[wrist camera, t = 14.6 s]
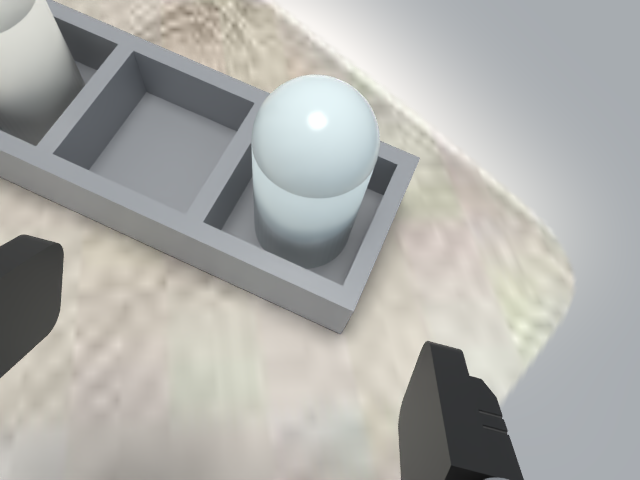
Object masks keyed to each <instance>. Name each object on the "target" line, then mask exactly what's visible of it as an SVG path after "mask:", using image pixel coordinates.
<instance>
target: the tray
mask: <svg viewBox="0 0 640 480" xmlns="http://www.w3.org/2000/svg"><path fill="white" fill-rule="evenodd" d="M46 2H47V4H48V6H49V8H50V10H51V12H52V15H53V17H54V19H55V21H56V23H57V25H58V27H59V29H60V31H61V34H62V36H63V38H64V40H65V42H66V44H67V46H68V48H69V50H70V52H71V55H72V57H73V59H74V61H75V63H76V65H77V67H78V69H79V71H80V74H81V76H82V78H83V80H84V82H85V84H86V85H85V86H84V87H83V89H82V90H81V91H80V92H79V94H78V95H77V96H76V97H75V99H74V100H73V101H72V102H71V104H70V105H69V106H68V107H67V109H66V110H65V111H64V112H63V113H62V115H61V116H60V117H59V118H58V120H57V121H56V122H55V123H54V125H53V126H52V127H51V128H50V130H49V131H48V132H47V133H46V135H45V136H44V137H43V138H42V140H41V141H40V142H39V143H38V145H37V146H34V145H32V144H30V143H27V142H25V141H23V140H21V139H19V138H16V137H14V136H12V135H10V134H8V133H5V132H3V131H1V130H0V177H1V178H4V179H6V180H8V181H10V182H12V183H14V184H16V185H19V186H21V187H23V188H25V189H27V190H29V191H32V192H34V193H36V194H38V195H40V196H42V197H45V198H47V199H49V200H51V201H53V202H55V203H58V204H60V205H62V206H64V207H66V208H68V209H71V210H73V211H75V212H77V213H79V214H81V215H84V216H86V217H88V218H90V219H92V220H94V221H97V222H99V223H101V224H103V225H105V226H107V227H110V228H112V229H114V230H116V231H118V232H120V233H122V234H125V235H127V236H129V237H131V238H133V239H135V240H138V241H140V242H142V243H144V244H146V245H148V246H151V247H153V248H155V249H157V250H159V251H161V252H164V253H166V254H168V255H170V256H172V257H174V258H177V259H179V260H181V261H183V262H185V263H187V264H190V265H192V266H194V267H196V268H198V269H200V270H203V271H205V272H207V273H209V274H211V275H213V276H216V277H218V278H220V279H222V280H224V281H226V282H228V283H231V284H233V285H235V286H237V287H239V288H241V289H244V290H246V291H248V292H250V293H252V294H254V295H257V296H259V297H261V298H263V299H265V300H267V301H270V302H272V303H274V304H276V305H278V306H280V307H283V308H285V309H287V310H289V311H291V312H293V313H296V314H298V315H300V316H302V317H304V318H306V319H309V320H311V321H313V322H315V323H317V324H319V325H322V326H324V327H326V328H328V329H330V330H332V331H334V332H337V333H339V334H341V333H342V331H343V329H344V327H345V326H346V324H347V322H348V321H349V319H350V317H351V315H352V314H353V312H354V310H355V307H356V305H357V303H358V300H359V298H360V296H361V293H362V291H363V289H364V287H365V284H366V282H367V280H368V277H369V275H370V273H371V270H372V268H373V266H374V263H375V261H376V259H377V256H378V254H379V252H380V250H381V247H382V245H383V243H384V240H385V238H386V236H387V233H388V231H389V229H390V226H391V224H392V222H393V219H394V217H395V215H396V212H397V210H398V208H399V206H400V203H401V201H402V199H403V196H404V194H405V192H406V189H407V187H408V185H409V182H410V180H411V178H412V175H413V173H414V171H415V168H416V166H417V164H418V162H419V159H420V158H419V157H417V156H414V155H412V154H410V153H407V152H405V151H403V150H400V149H398V148H396V147H393V146H391V145H389V144H386V143H384V142H382V141H380V149H379V154H378V158H377V162H376V164H375V167H374V170H373V172H372V175H371V178H370V181H369V183H368V186H367V189H366V192H365V194H364V197H363V200H362V203H361V205H360V208H359V211H358V214H357V216H356V219H355V222H354V225H353V227H352V230H351V233H350V235H349V238H348V241H347V243H346V245H345V247H344V249H343V250H342V251H341V253H340V254H339V255H338V256H337V257H335V258H334V259H333V260H332V261H330V262H328V263H326V264H324V265H322V266H318V267H315V268H308V269H305V268H303V267H300V266H298V265H296V264H294V263H292V262H289V261H287V260H285V259H283V258H281V257H278V256H276V255H274V254H272V253H270V252H267V251H265V250H264V249H263V248H262V246H261V245H260V243H259V241H258V239H257V236H256V232H255V223H254V198H253V173H252V147H251V136H252V128H253V123H254V120H255V117H256V114H257V112H258V110H259V108H260V106H261V105H262V103H263V102H264V100H265V99H266V98H267V97H268V96H269V95H270V93H267V92H265V91H263V90H260V89H258V88H256V87H253V86H251V85H249V84H246V83H244V82H242V81H239V80H237V79H235V78H232V77H230V76H228V75H225V74H223V73H221V72H218V71H216V70H214V69H211V68H209V67H207V66H204V65H202V64H200V63H197V62H195V61H193V60H190V59H188V58H186V57H183V56H181V55H179V54H176V53H174V52H172V51H169V50H167V49H165V48H162V47H160V46H158V45H155V44H153V43H151V42H148V41H146V40H144V39H141V38H139V37H137V36H134V35H132V34H130V33H127V32H125V31H123V30H120V29H118V28H116V27H113V26H111V25H109V24H106V23H104V22H102V21H99V20H97V19H95V18H92V17H90V16H88V15H85V14H83V13H81V12H78V11H76V10H74V9H71V8H69V7H67V6H64V5H62V4H60V3H57V2H55V1H53V0H46Z"/></svg>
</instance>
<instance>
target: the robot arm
mask: <svg viewBox="0 0 640 480" xmlns="http://www.w3.org/2000/svg"><path fill="white" fill-rule="evenodd" d="M63 258H64V253H63V248H62V246H61V245H60V244H59V243H55V242H52V241H48V240H44V239H40V238H36V237H33V236H29V235H20V236H18V237H16V238H15V239H13V240H11V241H9V242H7V243H6V244H4V245H2V246H0V378H1V377H2V376H3V375H4V374H5V373H6V372H8V371H9V370H10V369H11V368H12V367H13V366H14V365H15V364H16V363H17V362H19V361H20V360H21V359H22V358H23V357H24V356H25V355H26V354H27V353H28V352H30V351H31V350H32V349H33V348H34V347H35V346H36V345H37V344H38V343H39V342H41V341H42V340H43V339H44V338H45V337H46V336H47V335H48V334H49V333H50V332H51V330H52V329H53V327H54V325H55V323H56V321H57V319H58V316H59V312H60V306H61V290H62V274H63ZM398 431H399V449H400V467H401V480H524V479H523V476H522V473H521V470H520V467H519V464H518V461H517V458H516V455H515V452H514V449H513V446H512V443H511V440H510V437H509V435H507V428H506V425H505V422H504V420H503V419H502V413H501V410H500V407H499V404H498V401H497V398H496V396H495V395H494V394H493V393H492V391H491V390H490V389H489V388H488V386H487V385H486V384H485V383H484V382H483V380H482V379H479V378H475V377H472V376H469V373H468V369H467V366H466V362H465V358H464V355H463V352H462V350H460V349H456V348H453V347H449V346H445V345H441V344H437V343H434V342H430V341H427V342H425V344H424V345H423V347H422V349H421V352H420V355H419V357H418V360H417V363H416V366H415V368H414V371H413V374H412V376H411V379H410V382H409V385H408V387H407V390H406V393H405V395H404V398H403V401H402V405H401V409H400V415H399V423H398Z"/></svg>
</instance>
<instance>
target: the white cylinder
mask: <svg viewBox="0 0 640 480" xmlns="http://www.w3.org/2000/svg"><path fill="white" fill-rule="evenodd" d="M85 85H86V84H85V82H84V80H83V78H82V76H81V74H80V71H79V69H78V67H77V65H76V63H75V61H74V59H73V57H72V55H71V52H70V50H69V48H68V46H67V44H66V42H65V40H64V38H63V36H62V34H61V31H60V29H59V27H58V25H57V23H56V21H55V19H54V17H53V15H52V12H51V10H50V8H49V6H48V4H47V2H46V0H0V130H1V131H3V132H5V133H8V134H10V135H12V136H14V137H16V138H19V139H21V140H23V141H25V142H27V143H30V144H32V145H34V146H37V145H38V143H39V142H40V141H41V140H42V138H43V137H44V136H45V135H46V133H47V132H48V131H49V130H50V128H51V127H52V126H53V125H54V123H55V122H56V121H57V120H58V118H59V117H60V116H61V115H62V113H63V112H64V111H65V110H66V109H67V107H68V106H69V105H70V104H71V102H72V101H73V100H74V99H75V97H76V96H77V95H78V94H79V92H80V91H81V90H82V89H83V87H84V86H85Z"/></svg>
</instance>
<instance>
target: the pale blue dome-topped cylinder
mask: <svg viewBox="0 0 640 480" xmlns="http://www.w3.org/2000/svg"><path fill="white" fill-rule="evenodd" d="M251 147H252V173H253V198H254V223H255V232H256V236H257V239H258V241H259V243H260V245H261V246H262V248H263V249H264V250H265V251H267V252H270V253H272V254H274V255H276V256H278V257H281V258H283V259H285V260H287V261H289V262H292V263H294V264H296V265H298V266H300V267H303V268H305V269H308V268H315V267H318V266H322V265H324V264H326V263H328V262H330V261H332V260H333V259H334V258H335V257H337V256H338V255H339V254H340V253H341V251H342V250H343V249H344V247H345V245H346V243H347V241H348V238H349V235H350V233H351V230H352V227H353V225H354V222H355V219H356V216H357V214H358V211H359V208H360V205H361V203H362V200H363V197H364V194H365V192H366V189H367V186H368V183H369V181H370V178H371V175H372V172H373V170H374V167H375V164H376V162H377V158H378V154H379V149H380V132H379V127H378V123H377V119H376V116H375V114H374V112H373V110H372V108H371V106H370V104H369V103H368V101H367V100H366V99H365V98H364V96H363V95H362V94H361V93H360V92H359V91H358V90H356V89H355V88H354V87H353V86H351V85H349V84H348V83H346V82H344V81H342V80H340V79H337V78H334V77H330V76H325V75H305V76H300V77H297V78H294V79H292V80H289V81H287V82H285V83H283V84H282V85H280V86H279V87H277V88H276V89H275V90H274V91H273V92H272V93H271V94H270V95H269V96H268V97H267V98H266V99H265V100H264V102H263V103H262V105H261V106H260V108H259V110H258V112H257V114H256V117H255V120H254V123H253V128H252V136H251Z"/></svg>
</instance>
